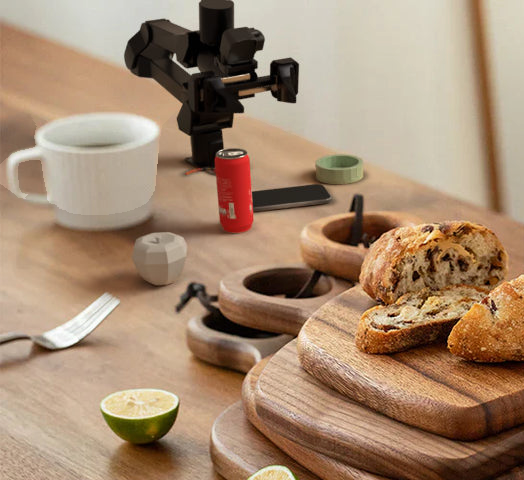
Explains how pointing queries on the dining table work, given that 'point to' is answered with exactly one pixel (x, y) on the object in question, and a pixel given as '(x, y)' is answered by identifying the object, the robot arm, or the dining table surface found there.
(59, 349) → the dining table surface
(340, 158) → the ring
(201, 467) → the dining table surface
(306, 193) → the smartphone
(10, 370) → the dining table surface
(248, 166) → the beverage can
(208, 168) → the necklace
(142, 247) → the apple
